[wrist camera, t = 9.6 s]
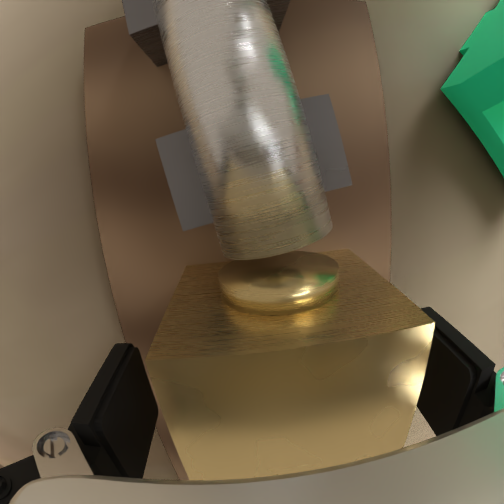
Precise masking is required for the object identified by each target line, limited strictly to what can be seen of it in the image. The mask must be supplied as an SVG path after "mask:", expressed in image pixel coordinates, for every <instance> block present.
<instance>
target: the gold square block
mask: <svg viewBox="0 0 504 504" xmlns="http://www.w3.org/2000/svg"><path fill="white" fill-rule="evenodd" d="M434 326H435V322H434V321H433V320H432V319H431V318H430V317H429V316H428V315H427V314H425V313H424V312H423V311H422V310H421V309H420V308H419V307H417V306H416V305H415V304H414V303H413V302H412V301H411V300H409V299H408V298H407V297H406V296H405V295H404V294H403V293H401V292H400V291H399V290H398V289H397V288H395V287H394V286H393V285H392V284H391V283H390V282H388V281H387V280H386V279H385V278H384V277H382V276H381V275H380V274H379V273H378V272H376V271H375V270H374V269H373V268H372V267H370V266H369V265H368V264H367V263H366V262H364V261H363V260H362V259H361V258H359V257H358V256H357V255H356V254H355V253H353V252H352V251H351V250H350V249H341V250H332V251H323V252H308V251H290V252H287V253H283V254H279V255H275V256H271V257H265V258H259V259H251V260H234V261H227V262H217V263H207V264H197V265H187V266H186V268H185V270H184V272H183V274H182V276H181V278H180V281H179V283H178V285H177V287H176V289H175V292H174V294H173V296H172V298H171V301H170V303H169V305H168V307H167V310H166V312H165V314H164V316H163V319H162V321H161V323H160V326H159V328H158V330H157V333H156V335H155V337H154V340H153V342H152V344H151V347H150V349H149V352H148V354H147V356H146V359H145V362H146V365H147V369H148V372H149V375H150V378H151V381H152V384H153V387H154V390H155V393H156V396H157V399H158V402H159V405H160V408H161V410H162V413H163V416H164V419H165V421H166V424H167V427H168V429H169V432H170V434H171V437H172V440H173V442H174V445H175V447H176V450H177V452H178V454H179V457H180V459H181V462H182V464H183V466H184V468H185V471H186V473H187V475H188V478H189V480H227V479H243V478H255V477H266V476H275V475H283V474H290V473H297V472H304V471H310V470H315V469H321V468H326V467H331V466H336V465H341V464H345V463H350V462H354V461H358V460H362V459H366V458H370V457H374V456H377V455H381V454H384V453H388V452H391V451H395V450H398V449H401V448H403V446H404V444H405V441H406V438H407V435H408V432H409V429H410V426H411V422H412V419H413V416H414V412H415V409H416V406H417V402H418V398H419V395H420V391H421V387H422V383H423V379H424V375H425V371H426V366H427V362H428V357H429V353H430V348H431V343H432V337H433V332H434Z"/></svg>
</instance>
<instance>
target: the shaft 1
mask: <svg viewBox="0 0 504 504" xmlns="http://www.w3.org/2000/svg"><path fill="white" fill-rule="evenodd" d="M122 3H123V8H124V13H125V17H126V22H127V27H128V32H129V35H130V36H131V37H132V39H133V40H134V41H135V42H136V43H137V44H138V45H139V47H140V48H141V49H142V50H143V51H144V52H145V53H146V55H147V56H148V57H149V58H150V59H151V60H152V62H153V63H154V64H155V65H156V66H157V67H159V66H162V65H165V64H168V66H169V69H170V73H171V77H172V80H173V84H174V88H175V92H176V95H177V99H178V102H179V106H180V110H181V113H182V117H183V120H184V124H185V128H186V129H184V130H181V131H178V132H175V133H172V134H169V135H166V136H163V137H160V138H157V139H155V140H156V144H157V147H158V151H159V154H160V158H161V161H162V165H163V168H164V171H165V175H166V178H167V181H168V185H169V188H170V191H171V195H172V198H173V201H174V204H175V208H176V211H177V214H178V217H179V220H180V223H181V226H182V230H183V231H186V230H190V229H193V228H197V227H200V226H203V225H207V224H210V223H214V226H215V229H216V233H217V236H218V239H219V242H220V245H221V249H222V252H223V255H224V256H225V257H226V258H229V259H234V260H251V259H259V258H265V257H271V256H275V255H279V254H283V253H287V252H290V251H294V250H297V249H299V248H302V247H305V246H307V245H310V244H312V243H314V242H316V241H318V240H320V239H321V238H323V237H325V236H326V235H327V234H328V233H329V232H330V231H331V230H332V227H333V226H332V221H331V217H330V212H329V207H328V203H327V199H326V194H325V192H327V191H331V190H335V189H339V188H343V187H347V186H351V185H352V181H351V176H350V172H349V167H348V163H347V159H346V155H345V151H344V147H343V143H342V139H341V135H340V131H339V128H338V124H337V120H336V117H335V113H334V110H333V106H332V103H331V99H330V96H329V94H324V95H319V96H313V97H308V98H303V99H300V97H299V93H298V90H297V87H296V84H295V80H294V77H293V74H292V71H291V68H290V65H289V62H288V59H287V56H286V53H285V50H284V47H283V44H282V41H281V38H280V35H279V31H280V28H281V25H282V22H283V19H284V17H285V14H286V11H287V8H288V6H289V3H290V0H122Z"/></svg>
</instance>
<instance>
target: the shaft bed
mask: <svg viewBox="0 0 504 504" xmlns="http://www.w3.org/2000/svg"><path fill="white" fill-rule="evenodd" d="M279 35H280V38H281V41H282V44H283V47H284V50H285V53H286V56H287V59H288V62H289V65H290V68H291V71H292V74H293V77H294V80H295V84H296V87H297V90H298V93H299V97H300V99H303V98H308V97H313V96H319V95H324V94H329V96H330V99H331V103H332V106H333V110H334V113H335V117H336V120H337V124H338V128H339V131H340V135H341V139H342V143H343V147H344V151H345V155H346V159H347V163H348V167H349V172H350V176H351V181H352V185H351V186H347V187H343V188H339V189H335V190H331V191H327V192H325V194H326V199H327V203H328V207H329V212H330V217H331V221H332V226H333V227H332V230H331V231H330V232H329V233H328V234H327V235H326V236H325V237H323V238H321V239H320V240H318V241H316V242H314V243H312V244H310V245H307V246H305V247H302V248H299V249H297V250H294V251H308V252H323V251H332V250H341V249H350V250H351V251H352V252H353V253H355V254H356V255H357V256H358V257H359V258H361V259H362V260H363V261H364V262H366V263H367V264H368V265H369V266H370V267H372V268H373V269H374V270H375V271H376V272H378V273H379V274H380V275H381V276H382V277H384V278H385V279H386V280H387V281H388V282H390V264H391V182H390V162H389V147H388V135H387V124H386V114H385V106H384V97H383V90H382V83H381V76H380V70H379V63H378V58H377V52H376V46H375V41H374V36H373V31H372V27H371V22H370V17H369V13H368V9H367V5H366V2H364V1H357V0H290V3H289V6H288V8H287V11H286V14H285V17H284V19H283V22H282V25H281V28H280V31H279ZM84 100H85V121H86V135H87V147H88V157H89V167H90V175H91V183H92V191H93V198H94V204H95V211H96V217H97V223H98V229H99V234H100V239H101V245H102V250H103V255H104V259H105V264H106V269H107V273H108V277H109V282H110V286H111V290H112V294H113V298H114V302H115V306H116V310H117V313H118V317H119V321H120V324H121V328H122V331H123V334H124V338H125V341H126V343H132V344H133V346H134V347H137V348H138V349H139V351H140V354H141V357H142V360H143V364H144V367H145V370H146V373H147V376H148V379H149V382H150V385H151V388H152V391H153V394H154V397H155V400H156V402H157V405H158V418H157V422H156V428H157V431H158V433H159V436H160V438H161V440H162V443H163V445H164V447H165V449H166V452H167V454H168V456H169V458H170V460H171V463H172V465H173V467H174V469H175V471H176V473H177V475H178V477H179V479H180V480H189V478H188V475H187V473H186V471H185V468H184V466H183V464H182V462H181V459H180V457H179V454H178V452H177V450H176V447H175V445H174V442H173V440H172V437H171V434H170V432H169V429H168V427H167V424H166V421H165V419H164V416H163V413H162V410H161V408H160V405H159V402H158V399H157V396H156V393H155V390H154V387H153V384H152V381H151V378H150V375H149V372H148V369H147V365H146V362H145V359H146V356H147V354H148V352H149V349H150V347H151V344H152V342H153V340H154V337H155V335H156V333H157V330H158V328H159V326H160V323H161V321H162V319H163V316H164V314H165V312H166V310H167V307H168V305H169V303H170V301H171V298H172V296H173V294H174V292H175V289H176V287H177V285H178V283H179V281H180V278H181V276H182V274H183V272H184V270H185V268H186V266H187V265H197V264H207V263H217V262H227V261H234V259H229V258H226V257H225V256H224V255H223V252H222V249H221V245H220V242H219V239H218V236H217V233H216V229H215V226H214V223H210V224H207V225H203V226H200V227H197V228H193V229H190V230H186V231H183V230H182V226H181V223H180V220H179V217H178V214H177V211H176V208H175V204H174V201H173V198H172V195H171V191H170V188H169V185H168V181H167V178H166V175H165V171H164V168H163V165H162V161H161V158H160V154H159V151H158V147H157V144H156V140H155V139H157V138H160V137H163V136H166V135H169V134H172V133H175V132H178V131H181V130H184V129H186V128H185V124H184V120H183V117H182V113H181V110H180V106H179V102H178V99H177V95H176V92H175V88H174V84H173V80H172V77H171V73H170V69H169V66H168V64H165V65H162V66H159V67H157V66H156V65H155V64H154V63H153V62H152V60H151V59H150V58H149V57H148V56H147V55H146V53H145V52H144V51H143V50H142V49H141V48H140V47H139V45H138V44H137V43H136V42H135V41H134V40H133V39H132V37H131V36H130V35H129V32H128V27H127V22H126V17H125V16H124V17H120V18H116V19H113V20H109V21H106V22H103V23H100V24H96V25H93V26H90V27H87V28H85V40H84Z"/></svg>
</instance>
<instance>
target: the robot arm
mask: <svg viewBox="0 0 504 504" xmlns="http://www.w3.org/2000/svg"><path fill="white" fill-rule="evenodd" d="M421 310H422V311H423V312H424V313H425V314H427V315H428V316H429V317H430V318H431V319H432V320H433V321H434V322H435V326H434V332H433V337H432V343H431V348H430V353H429V357H428V362H427V366H426V371H425V375H424V379H423V383H422V387H421V391H420V395H419V398H418V402H417V407H418V409H419V410H420V412H421V413H422V415H423V416H424V418H425V419H426V421H427V422H428V424H429V425H430V427H431V428H432V430H433V431H434V433H435V435H436V437H433V438H431V439H428V440H425V441H422V442H419V443H416V444H413V445H411V446H407V447H404V448H401V449H398V450H395V451H391V452H388V453H384V454H381V455H377V456H374V457H370V458H366V459H362V460H358V461H354V462H350V463H345V464H341V465H336V466H331V467H326V468H321V469H315V470H310V471H304V472H297V473H290V474H283V475H275V476H266V477H255V478H243V479H227V480H157V479H143V474H144V470H145V466H146V462H147V458H148V454H149V449H150V445H151V441H152V437H153V434H154V430H155V426H156V422H157V418H158V405H157V402H156V400H155V397H154V394H153V391H152V388H151V385H150V382H149V379H148V376H147V373H146V370H145V367H144V364H143V360H142V357H141V354H140V351H139V349H138V348H137V347H134V346H133V344H132V343H118V344H115V345H114V347H113V348H112V350H111V352H110V353H109V355H108V357H107V358H106V360H105V362H104V364H103V365H102V367H101V369H100V370H99V372H98V374H97V376H96V377H95V379H94V381H93V383H92V384H91V386H90V388H89V390H88V392H87V393H86V395H85V397H84V399H83V401H82V402H81V404H80V406H79V408H78V410H77V412H76V413H75V415H74V417H73V419H72V421H71V424H70V426H69V428H68V430H67V429H65V428H51V429H47V430H46V431H44V432H42V433H41V434H39V435H38V436H37V437H36V439H35V440H34V442H33V446H32V449H33V455H32V456H30V457H27V458H25V459H23V460H20V461H18V462H16V463H13V464H11V465H8V466H6V467H3V468H1V469H0V504H504V367H503V368H502V369H500V370H499V371H498V372H497V374H496V373H495V372H494V371H493V370H494V367H495V363H493V362H492V361H491V360H490V359H489V358H488V357H487V356H486V355H485V354H484V353H483V352H481V351H480V350H479V349H478V348H477V347H476V346H475V345H474V344H473V343H471V342H470V341H469V340H468V339H467V338H466V337H465V336H463V335H462V334H461V333H460V332H459V331H458V330H457V329H455V328H454V327H453V326H452V325H451V324H450V323H448V322H447V321H446V320H445V319H444V318H443V317H441V316H440V315H439V314H438V313H437V312H435V311H434V310H433V309H432V308H430V307H425V308H421Z"/></svg>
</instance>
